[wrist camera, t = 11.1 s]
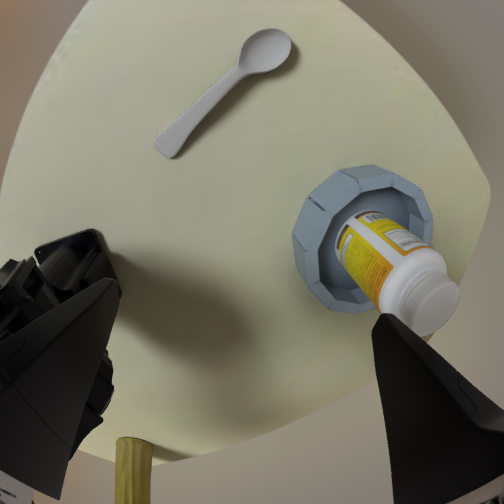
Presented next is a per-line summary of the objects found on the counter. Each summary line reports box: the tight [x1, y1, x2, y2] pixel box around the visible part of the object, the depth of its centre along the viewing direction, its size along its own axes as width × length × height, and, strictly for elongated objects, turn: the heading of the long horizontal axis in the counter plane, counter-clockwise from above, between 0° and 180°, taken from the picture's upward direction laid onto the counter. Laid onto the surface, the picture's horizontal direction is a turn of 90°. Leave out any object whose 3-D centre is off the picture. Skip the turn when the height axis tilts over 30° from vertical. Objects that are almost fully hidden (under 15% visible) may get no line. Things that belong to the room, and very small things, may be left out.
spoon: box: [153, 28, 292, 158], centre depth 17 cm, size 3×12×2 cm, turn 135°
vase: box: [115, 437, 153, 504], centre depth 29 cm, size 6×6×14 cm
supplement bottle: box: [335, 210, 460, 337], centre depth 18 cm, size 6×6×10 cm
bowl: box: [292, 165, 433, 314], centre depth 22 cm, size 12×12×3 cm
